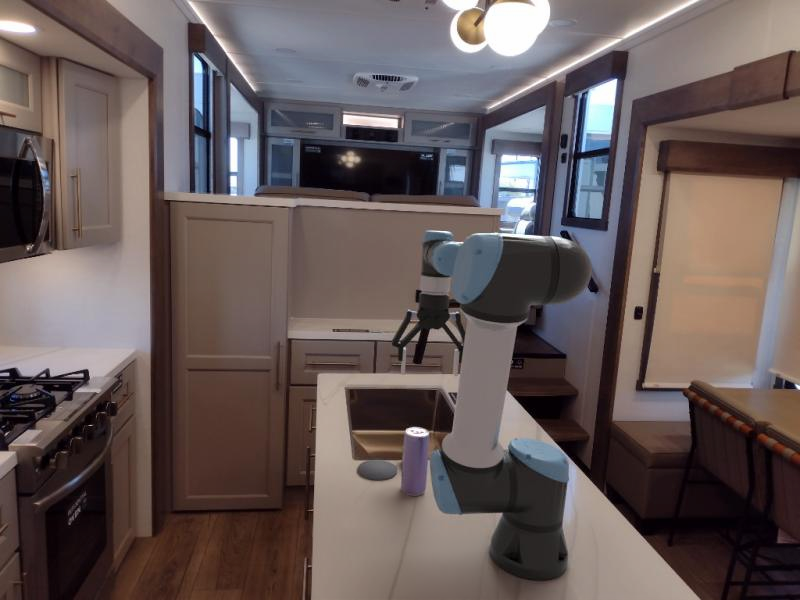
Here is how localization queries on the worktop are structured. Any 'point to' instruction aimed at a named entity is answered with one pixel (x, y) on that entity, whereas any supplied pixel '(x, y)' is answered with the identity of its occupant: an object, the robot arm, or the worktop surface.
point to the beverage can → (415, 461)
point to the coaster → (377, 470)
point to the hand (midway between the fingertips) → (429, 374)
